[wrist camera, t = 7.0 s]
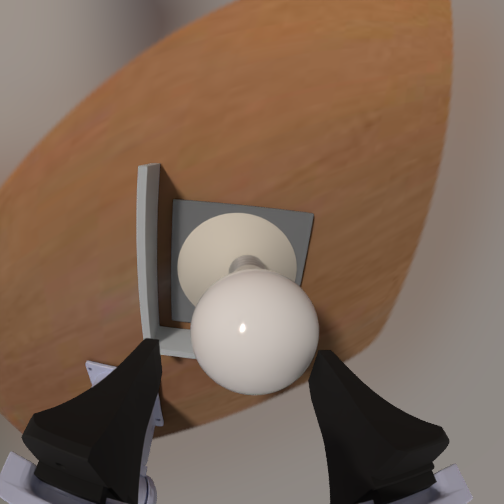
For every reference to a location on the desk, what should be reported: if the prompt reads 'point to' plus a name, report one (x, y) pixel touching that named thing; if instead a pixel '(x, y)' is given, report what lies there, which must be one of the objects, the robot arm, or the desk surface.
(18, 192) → the desk surface
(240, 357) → the lightbulb
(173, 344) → the acrylic fence
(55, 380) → the desk surface
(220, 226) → the mat
